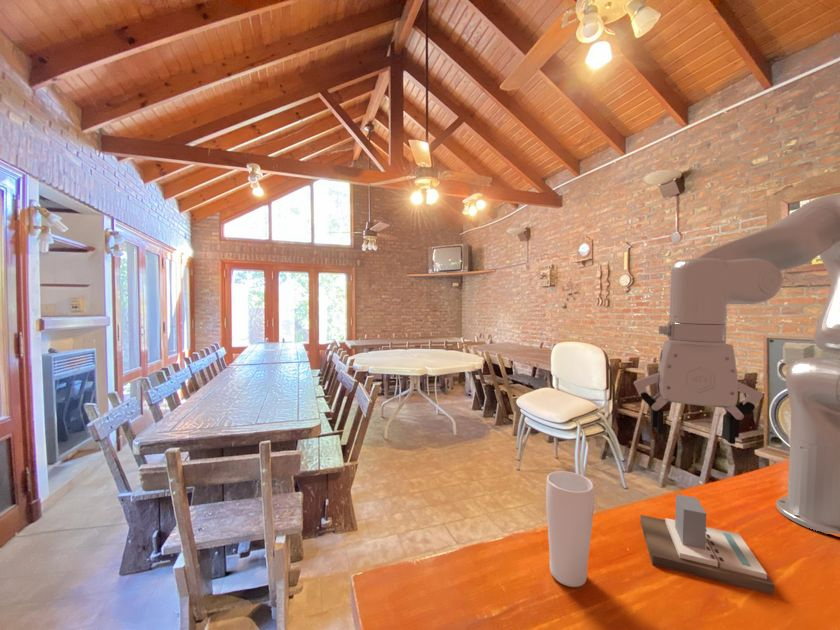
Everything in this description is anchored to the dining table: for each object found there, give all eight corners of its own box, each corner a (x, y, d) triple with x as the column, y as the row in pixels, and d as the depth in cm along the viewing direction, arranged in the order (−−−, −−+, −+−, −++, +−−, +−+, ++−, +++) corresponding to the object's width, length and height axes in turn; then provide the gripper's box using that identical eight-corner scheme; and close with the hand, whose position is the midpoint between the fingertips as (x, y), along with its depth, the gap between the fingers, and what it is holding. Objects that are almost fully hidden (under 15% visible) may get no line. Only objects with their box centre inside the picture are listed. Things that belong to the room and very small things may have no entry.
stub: (665, 522, 66) (666, 486, 66) (697, 529, 64) (698, 492, 64) (679, 557, 57) (680, 516, 57) (717, 566, 55) (719, 524, 55)
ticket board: (640, 522, 69) (640, 510, 69) (739, 543, 63) (740, 530, 63) (652, 564, 58) (652, 550, 58) (774, 595, 52) (775, 579, 52)
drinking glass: (570, 556, 60) (572, 467, 59) (602, 587, 53) (604, 488, 53) (535, 565, 58) (537, 473, 57) (564, 598, 51) (566, 496, 51)
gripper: (639, 333, 59) (636, 435, 60) (776, 339, 52) (770, 454, 53) (632, 330, 66) (629, 422, 67) (753, 334, 59) (748, 436, 60)
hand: (692, 436), depth 60 cm, fingers open, 9 cm apart
